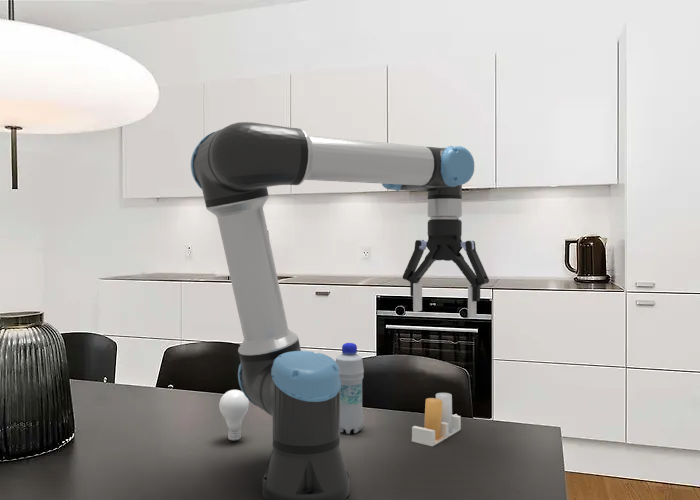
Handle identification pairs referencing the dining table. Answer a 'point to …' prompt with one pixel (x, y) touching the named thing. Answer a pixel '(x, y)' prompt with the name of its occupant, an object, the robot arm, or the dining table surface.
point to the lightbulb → (234, 411)
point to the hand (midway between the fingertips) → (444, 313)
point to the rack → (428, 435)
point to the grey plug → (446, 408)
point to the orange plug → (433, 415)
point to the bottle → (350, 388)
